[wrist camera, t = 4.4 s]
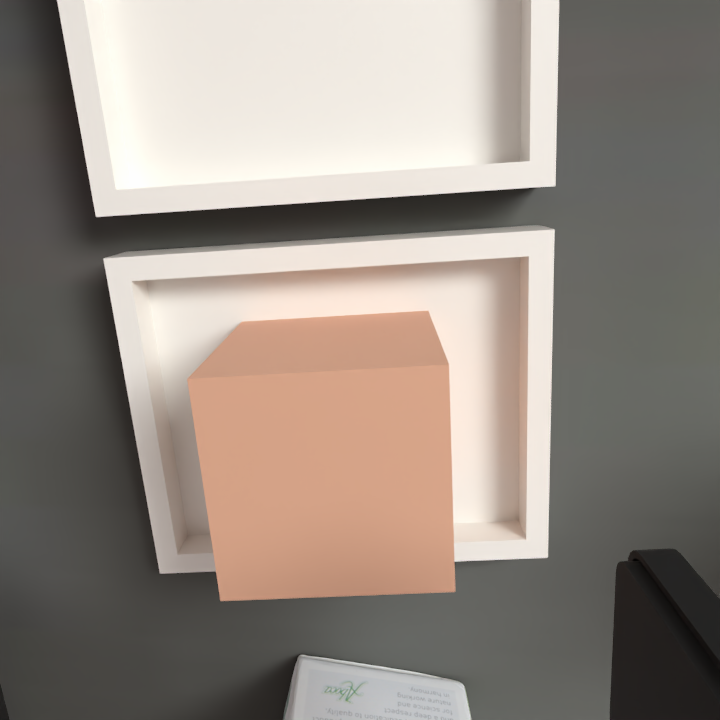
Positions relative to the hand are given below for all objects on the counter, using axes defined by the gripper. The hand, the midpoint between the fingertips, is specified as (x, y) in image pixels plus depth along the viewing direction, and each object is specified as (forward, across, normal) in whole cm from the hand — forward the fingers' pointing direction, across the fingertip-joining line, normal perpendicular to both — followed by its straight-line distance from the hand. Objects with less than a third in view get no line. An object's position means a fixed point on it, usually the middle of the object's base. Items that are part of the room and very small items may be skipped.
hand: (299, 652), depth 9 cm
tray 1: (+9, 0, -11) cm, 14 cm away
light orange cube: (+9, 0, -1) cm, 9 cm away
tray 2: (+9, 0, -1) cm, 9 cm away
